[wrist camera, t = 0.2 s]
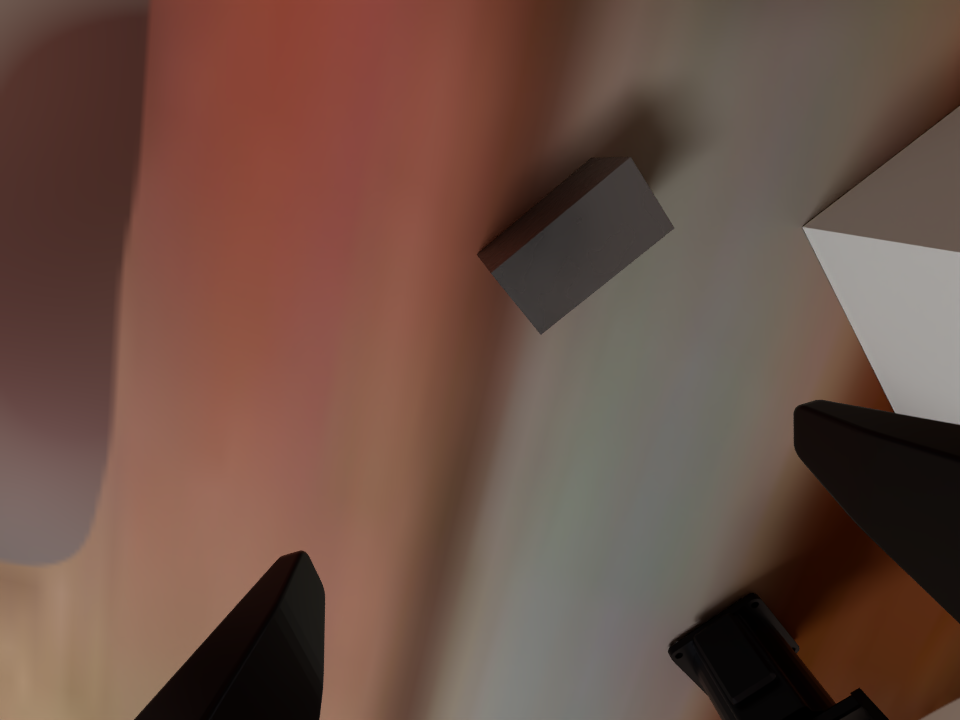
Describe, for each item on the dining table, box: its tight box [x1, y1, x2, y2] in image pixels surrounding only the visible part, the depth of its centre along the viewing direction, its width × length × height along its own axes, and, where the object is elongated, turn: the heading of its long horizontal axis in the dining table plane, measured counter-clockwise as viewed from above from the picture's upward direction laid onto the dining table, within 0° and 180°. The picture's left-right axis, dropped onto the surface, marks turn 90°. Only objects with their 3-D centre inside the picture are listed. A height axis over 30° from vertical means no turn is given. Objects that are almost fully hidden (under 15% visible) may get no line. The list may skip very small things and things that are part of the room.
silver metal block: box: [477, 157, 674, 334], centre depth 20 cm, size 3×6×4 cm, turn 129°
